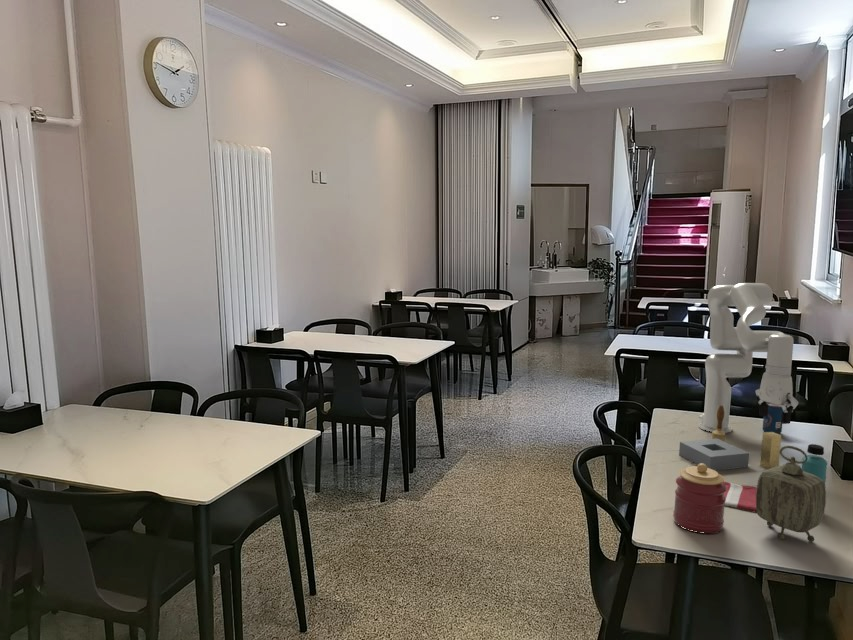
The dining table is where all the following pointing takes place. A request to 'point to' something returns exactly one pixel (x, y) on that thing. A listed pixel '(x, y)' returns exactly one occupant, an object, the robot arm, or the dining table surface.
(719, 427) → the hand bell
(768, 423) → the soda can
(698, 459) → the well block
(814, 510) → the tabletop clock
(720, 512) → the canister
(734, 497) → the dish towel
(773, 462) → the wooden square peg
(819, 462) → the beverage bottle
